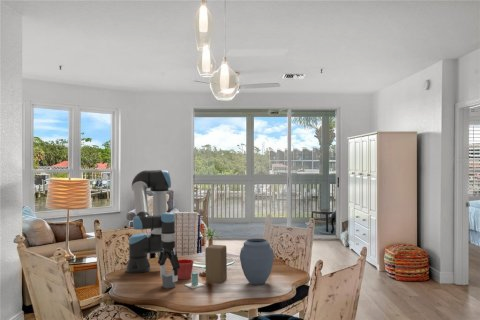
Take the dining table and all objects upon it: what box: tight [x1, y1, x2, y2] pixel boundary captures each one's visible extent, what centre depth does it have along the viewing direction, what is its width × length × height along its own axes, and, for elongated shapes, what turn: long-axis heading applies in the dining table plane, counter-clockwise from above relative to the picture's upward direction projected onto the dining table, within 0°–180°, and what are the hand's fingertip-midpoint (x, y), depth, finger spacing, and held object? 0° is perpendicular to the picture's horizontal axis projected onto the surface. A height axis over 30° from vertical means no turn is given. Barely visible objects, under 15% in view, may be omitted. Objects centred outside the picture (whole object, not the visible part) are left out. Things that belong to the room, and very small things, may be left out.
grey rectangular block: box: [161, 272, 176, 289], centre depth 233 cm, size 5×5×7 cm
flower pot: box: [178, 258, 194, 280], centre depth 252 cm, size 11×11×10 cm
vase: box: [239, 238, 275, 286], centre depth 237 cm, size 20×20×24 cm
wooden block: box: [204, 244, 228, 284], centre depth 244 cm, size 10×10×20 cm
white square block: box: [184, 271, 206, 289], centre depth 234 cm, size 8×8×7 cm
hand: (168, 279), depth 232 cm, fingers open, 13 cm apart
